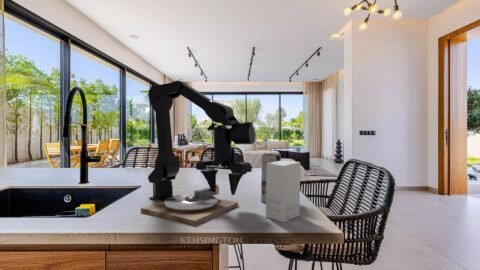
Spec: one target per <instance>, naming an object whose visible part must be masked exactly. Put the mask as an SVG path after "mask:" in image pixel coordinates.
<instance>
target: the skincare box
mask: <svg viewBox="0 0 480 270" xmlns="http://www.w3.org/2000/svg"><path fill="white" fill-rule="evenodd" d="M266 164H267V167H266V202H265V218H267V219H271V220H274V221H277V222H280V223H285V222H288V221H290V220H293V219H294V218H297V217H299V216H300V207H301V206H300V204H301V203H300V197H301V196H300V191H301V190H300V189H301V162H300V161H293V160H282V159H281V161H277V162H271V163H266Z"/></svg>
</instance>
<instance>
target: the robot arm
mask: <svg viewBox="0 0 480 270" xmlns="http://www.w3.org/2000/svg"><path fill="white" fill-rule="evenodd" d="M147 94H148V95H147V96H148V101H149V104H150V106H151V107H152V109H153V110H154V115H155V124H156V125H155V126H156V128H155V129H156V140H157V149H158V150H157V151H158V153H157V155H156V157H155V160H154V169H153V170H152V171H151V173H150V174H148V176H147V179H148V182H149V183H150V184H152V196H150V197H149V200H154V201H158V202H163V201H165V200H166V199H167V198H169V197H172V196H174V195H173V194H174V192H173V191H174V190H173V189H174V188H173V187H174V186H173V181H175V180H176V179H177V175H178V174H179V173H180V168H181V166H182V165H181V163H180V162H181V161H180V155H176V154H175V153H174V148H173V138H172V136H173V135H172V125H171V113H170V112H171V109H172V106H173V105H174V104H173V103H174V99H177V98H179V97H180V96H182V97H184V98H185V99H187V100H188V101H189V102H191V103H192V104H194V105H196V106H197V107H198V108H201V109H202V111H204V113H205V115H206V117H208V118H209V119H210V120H211V121H212V123H211V124H210V125H209V126H208V127H207V131H213V147H211V148H210V151H211V152H213V159H206V160H198V161H197V162H196V171H200V174H202V175H203V177H204V179H205V180H206V182H207V184H208V186H209V187H210V188H211V190H212V192H215V190H216V185H217V173H218V172H219V170H230V173H228V181H229V187H230V188H229V190H230V193H231V195H232V196H235V194H236V192H237V189H238V186H239V183H240V181H241V178H243V176H244V175H247V174H248V173H251V172H253V171H252V168H253V167H252V166H253V165H251V162H249V161H248V162H246V161H244V156H243V155H242V154H240V153H238V152H235V151H236V149H235V147H234V146H233V144H234V145H254V144H255V141H256V132H255V128H254V126H253V125H254V124H253V122H252V121H246V122H239V120H238V119H237V117H236V116H235V115H234V109H233V108H232V107H231V106H228V105H227V104H223V103H221V102H218V101H216V100H213V99H211V98H209V97H208V96H206V95H205V94H203V93H202V92H199V91H198V90H197V89H195V88H194V87H192V86H190V85H189V84H188V83H187V82H185V81H181V80H174V81H172V82H167V83H162V84H159V85H158V84H155V85H152V86H150V88H149V89H148V92H147ZM228 126H229V127H230V128H229V127H228ZM232 142H233V144H232Z"/></svg>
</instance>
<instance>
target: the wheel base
mask: <svg viewBox="0 0 480 270" xmlns="http://www.w3.org/2000/svg"><path fill="white" fill-rule="evenodd" d="M237 207H239V201H232V200H228V199H222V198H217V205H216V206H215V207H213V208H210V209H206V210H201V211H190V212H184V211H174V210H170V209H167V208H166V207H165V201H158V202H156V203H153V204H150V205H146V206H143V207H140V213H144V214H146V215H150V216H151V215H152V216H155V217H159V218H164V219H167V220H170V221H171V220H172V221H175V222H180V223H183V224H188V225H191V226H197V225H200V224H202V223H205V222H206V221H208V220H210V219H213V218H214V217H217V216H219V215H221V214H223V213H226V212H228V211H230V210H233V209H234V208H237Z"/></svg>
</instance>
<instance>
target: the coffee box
mask: <svg viewBox="0 0 480 270" xmlns="http://www.w3.org/2000/svg"><path fill="white" fill-rule="evenodd" d="M277 161H282V153H279V152H278V153H276V152H275V153H273V152H272V153H271V152H270V153H266V152H265V153H263V154H262V155H261V178H260V179H261V180H260V181H261V182H260V183H261V184H260V185H261V187H260V190H261V191H260V192H261V194H260V196H261V197H260V201H261V202H262V203H266V167H267V164H266V163H271V162H277Z"/></svg>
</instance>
